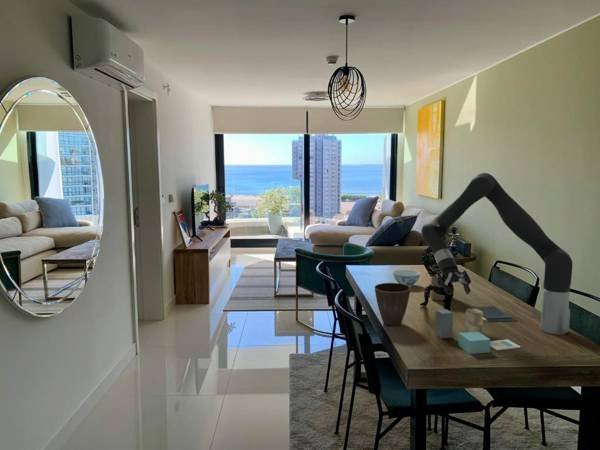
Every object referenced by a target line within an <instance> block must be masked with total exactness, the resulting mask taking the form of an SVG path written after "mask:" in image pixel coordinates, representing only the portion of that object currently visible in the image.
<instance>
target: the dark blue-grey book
mask: <svg viewBox="0 0 600 450" xmlns="http://www.w3.org/2000/svg"><path fill="white" fill-rule="evenodd" d="M464 309H465V310H466V309H478V310H480V311H482V312H483V322H484V323H510V322H511V323H514V322H517V321H518V320H517V319H515V318H513V316H511V315H509V314H508V313H506V312H504V311H502V310H501V309H500V308H497V307H496V306H494V305H490V306H485V305H484V306H469V307H465V308H464Z"/></svg>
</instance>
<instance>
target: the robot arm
mask: <svg viewBox="0 0 600 450" xmlns="http://www.w3.org/2000/svg"><path fill="white" fill-rule="evenodd" d="M483 198H486V199H487V200H488V201H489V202H490V203H491V204H492V205H493V206H494V207H495V209H496V211H497V212H498V213H497V214H498V215H499V217H500V218H501V220H502V221H503V223H504V224H505V225H506V226H507V228H508V229H509V230H510V231H511V232H512V233H513V234H514V235H515V236H516V237H517V238H519V239H520V240H521V241H522V242H523V243H525V244H527V245H528V246H530V248H532V249H533V250H534V251H535V253H536V254H537V255H538V256H539V258H540V259H541V260H542V261H543V263H544V278H543V284H542V286H543V287H542V298H541V299H542V300H541V303H542V304H541V316H540V317H541V319H540V330H541V331H543V332H545V333H546V334H547V333H548V334H551V335H557V336H558V335H566V334H567V333H569V332H570V321H571V320H570V319H571V309H570V307H569V305H570V291H571V284H572V275H573V260H572V258H571V256H570V254H568V252H567V251H566V250H564V249H563V248H561V247H560V246H559V245H558V244H556V242H554V241H553V240H552V239H550V238H549V236H547V235H546V233H545V231H544V230H543V229H542V228H541V226H540V225H539V224H538V222H537V221H536V220H535V219H534V218H533V217H532V216H531V215H530V214H529V213H528V212H527V211H526V210H525V209H524V208H523V207H522V206H521V205H520V204H518V203H519V202H518V203H517V202H516V201H515V199H514V198H512V197H511V196H510V195H509V194H508V193H507V191H506V190H505V189H504V188H503V187H502V186H501V184H500V183H499V181H498V180H497V179H496V177H494V176H493V175H492V174H490V173H487V172H482V173H478V174H477V175H475V176H474V177H473V178H472V179H471V180H470V182H469V183H468V185H467V186H466V187H465V189H464V190H463V192H462V193H461V194H460V195H459V196H458V197H457V198H456V199H455V200H454V201H453V202H452V203H450V204H449V205H448V206H447V207H446V208H445V209H444V210H443V211H442V212H440V214H439V215H438V216H437V218H436V222H437V223H438V224H437V225H436V224H433V223H425V224H424V225H423V226H422V228H421V236H422V238H423V240H424V241H425V242H426V244H427V245H428V246H429V247H430V249H431V251H432V254H433V256H434V258H435V260H436V263H437V265H438V267H439V270H440V272H441V273H440V272H438V273H437V274H436V279H437V282H438V285H439V287H443V288H444V289H445V291H446V293H447V294H448V295H451V294H452V295H453V291H452V292H451V289H450V287H449V286H448V283H449V282H450V283H452V284H453V283H457V284H459V285H461V286H463V289H464V292H465V294H466V295H469V294H470V293H471V289H470V286H469V285H470V284H471V283H472V280H471V278H470V275H469V273H467V270H463V271H460V270H459V267H458V265H457V262H456V260H455V258H454V255H453V254H452V252H451V251H450V247H449V246H448V243H447V242H446V241H445V240H444V239H443V238H444V237H445V236H446V235H447V232H448V231H449V230H450V227H452V226H453V225H454V224H455V223H456V222H457V221H458V220H459V219H460V218H461V217H462V216H463V214H464V213H466V212H467V210H468V209H469V208H471V206H473V205H474V204H476V203H477V202H478V201H480V200H482V199H483ZM442 277H443V278H444V279H445V282H444V283H443V280H442Z"/></svg>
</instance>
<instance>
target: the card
mask: <svg viewBox="0 0 600 450" xmlns="http://www.w3.org/2000/svg"><path fill="white" fill-rule="evenodd" d="M490 348H492V349H493V350H495V351H503V350H513V349H521V346H520V345H518V344H516V343H515V342H513V341H511V340H509V339H499V340H491V344H490Z"/></svg>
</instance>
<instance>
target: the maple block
mask: <svg viewBox="0 0 600 450" xmlns="http://www.w3.org/2000/svg"><path fill="white" fill-rule="evenodd" d="M483 322H484V321H483V312H482V311H480V310H478V309H465V322H464V323H465V325H464V327H465V328H464V333H465V332H480V333H481V334H483Z"/></svg>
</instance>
